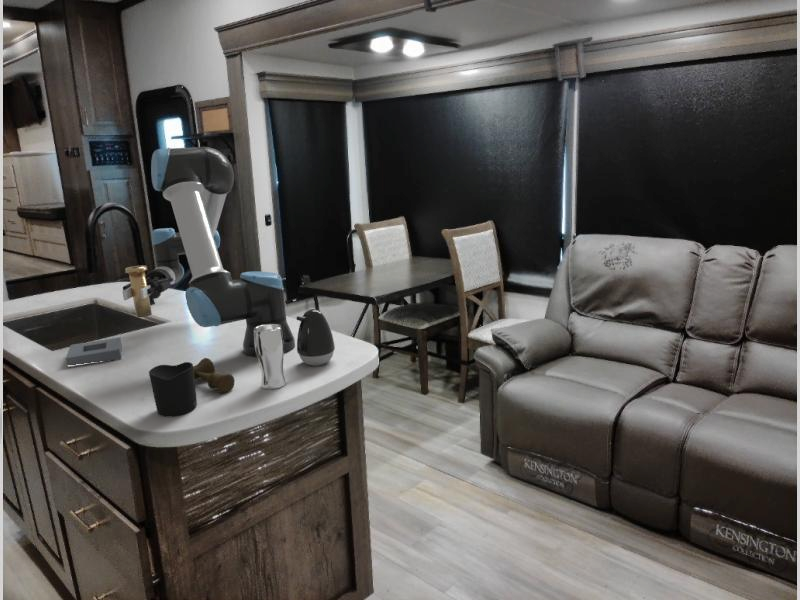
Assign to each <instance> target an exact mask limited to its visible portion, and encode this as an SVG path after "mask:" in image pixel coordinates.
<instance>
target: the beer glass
mask: <svg viewBox="0 0 800 600" xmlns="http://www.w3.org/2000/svg"><path fill="white" fill-rule="evenodd" d="M254 343H255V351H256V355H257V356H256V359H257V360H258V364H259V368H260V373H261V386H260V387H261V388H262V389H264V390H277V389H281V388H284V387H285V386H286V385H287V380H286V377H285V373H284V357H285V355H284V354H285V353H284V342H283V335H282V330H281V326H280V325H278V324H265V325H260V326H257V327H255V328H254Z"/></svg>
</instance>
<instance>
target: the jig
mask: <svg viewBox="0 0 800 600" xmlns="http://www.w3.org/2000/svg"><path fill="white" fill-rule="evenodd" d="M121 352H123V343H122V337H120V336H119V337H112V338H107V339H102V340H100V339H99V340H95V341H94V340H93V341H88V342H82V343H75V344H70V346H69V349H68V351H67V354H66V357H65V360H66V366H67V365H76V364H84V363H91V362H100V361H107V362H110V361H109V360H113V361H116V359H119V360H122V355H121Z"/></svg>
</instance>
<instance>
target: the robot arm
mask: <svg viewBox="0 0 800 600" xmlns="http://www.w3.org/2000/svg"><path fill="white" fill-rule="evenodd" d="M150 163H151V165H150V170H151V171H150V173H151V174H150V175H151V183H152V187H153V189H154V190H155V191H158V192H162V197H163V198H164V199H165V200H166V201H168V202H170V203H171V207H172V210H173V214H174V217H175V220H176V225H177V228H178V232H175V229H174V228H172V227H169V228H168V227H166V228H157V229H153V230H152V231H151V241H152V247H153V248H152V249H153V252H154V258H155V266H156V267H155V268H154V269H153V270H150V271H148V272H147V274H145V276H146V282H147V286H146V287H144V288H143V289H141V290H140V293H141V299H145V298H146V297H148V296H149V297H150V296H151V295H152V294H157V293H158V294H161V293H164V292H166V291H168V289H170V288H172V287H175V284H178V283H179V282H180V281H181V280H182V278H183V277H184V276H185V275H184V274H185V269H184V267H183V265H182V264H181V263H180V259H179V256H180V255H185V256H186V258H187V259H186V260H187V263H188V267H189V270H190V273H191V279H190V280H189V282H188V286H189V287H188V288H186V290H185V296H184V297H185V301H186V305H187V309H188V311H189V313H190V315H191V318H192V319H193V321H194V322H195V323H196V324H197V325H198V326H199V327H201V328H210V327H219V326H220V325H225V324H230V323H235V322H239V321H245V322H246V323H245V324H246V326H245V327H246V328H245V333H244V338H243V342H242V349H243V353H244V354H245V355H246V356H247V355H248V356H253V357H257V355H256V351H255V343H254V328H255V327H257V326H260V325H265V324H278V325H280V326H281V330H282V335H283V342H284V354H285V353H288V352H289V351H292V350H293V349H294V348H295V347H296V342H295V341H296V340H295V337H294V334H293V333H292V332H293V331H292V330H291V328H290V326H289V324H288V320H287V313H286V304H285V303H286V301H285V291H284V289H285V288H284V285H283V284H284V283H283V279H282V276H281V275H280V274H278V273H276V272H271V271H245V272H241V273H240V275H239V278H240V279H233V277H232V275H231V272H229V270H228V271H227V270H226V269H224V267H223V263H222V261H221V258H220V254H219V251H218V250H219V248H220V244H221V235H220V234H219V231H218V230H217V229H218V226H219V221H220V218H221V215H222V211H223V208H224V206H225V205H224V204H225V201H226V197H227V194H228V193H230V192H231V191H232V189H233V185H234V182H235V174H234V168H233V166H232V163H231V162H230V161H229V159H228V158H227V157H226V156H225V155H224V154H223V153H222V152H221V151H219V150H218V149H215V148H212V147H209V146H197V147H196V146H194V147H172V148H171V147H167V148H158V149H156V150H154V152H153V153H152V157H151V161H150ZM121 291H122V297H123V300H124V301H127V300H129V299H131V298H133V294H132V289H131V283H130V282H129V283H127V284H125V285H123V286H122V290H121Z"/></svg>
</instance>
